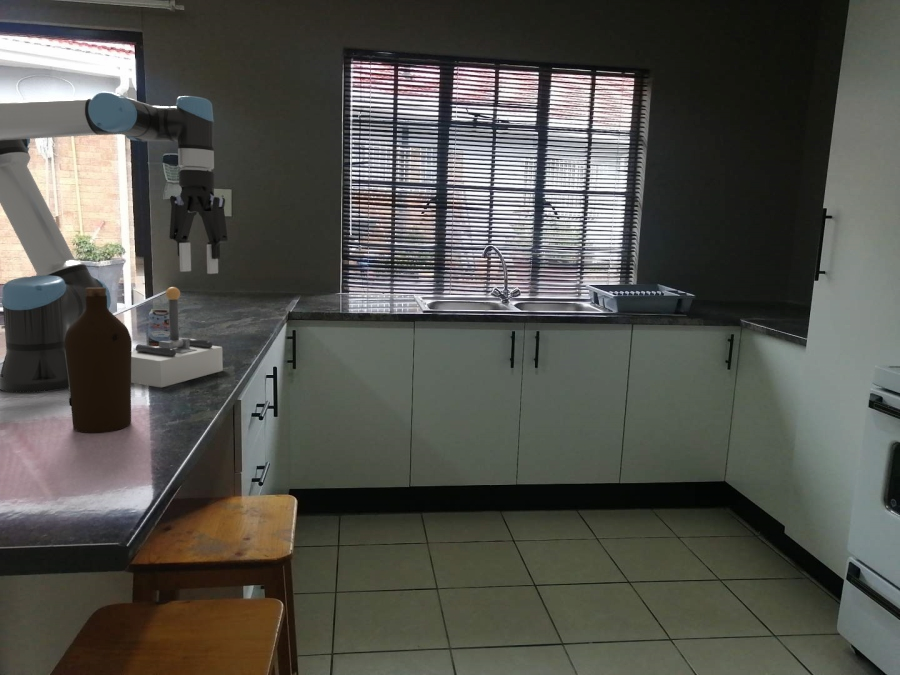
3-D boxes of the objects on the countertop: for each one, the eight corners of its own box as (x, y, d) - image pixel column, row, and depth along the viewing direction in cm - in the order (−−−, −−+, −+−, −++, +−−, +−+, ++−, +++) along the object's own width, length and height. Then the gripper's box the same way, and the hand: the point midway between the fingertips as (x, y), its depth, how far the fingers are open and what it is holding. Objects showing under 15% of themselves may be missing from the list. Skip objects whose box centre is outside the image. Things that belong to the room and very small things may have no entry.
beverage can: (146, 353, 185) (145, 310, 183) (151, 348, 192) (149, 306, 190) (171, 353, 187) (170, 310, 185) (174, 348, 194) (173, 306, 192)
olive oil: (145, 418, 128) (139, 286, 124) (117, 435, 117) (110, 292, 113) (89, 415, 128) (81, 283, 124) (56, 433, 117) (47, 289, 113)
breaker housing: (161, 387, 150) (159, 350, 149) (117, 380, 155) (115, 344, 154) (222, 370, 169) (222, 337, 167) (181, 364, 173) (181, 332, 172)
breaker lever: (174, 349, 160) (172, 288, 157) (163, 348, 161) (161, 287, 158) (185, 347, 163) (183, 286, 160) (175, 346, 164) (173, 285, 162)
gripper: (244, 171, 152) (245, 274, 155) (174, 170, 159) (177, 268, 163) (221, 168, 145) (223, 276, 149) (149, 168, 152) (152, 270, 156)
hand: (199, 272), depth 156 cm, fingers open, 7 cm apart
